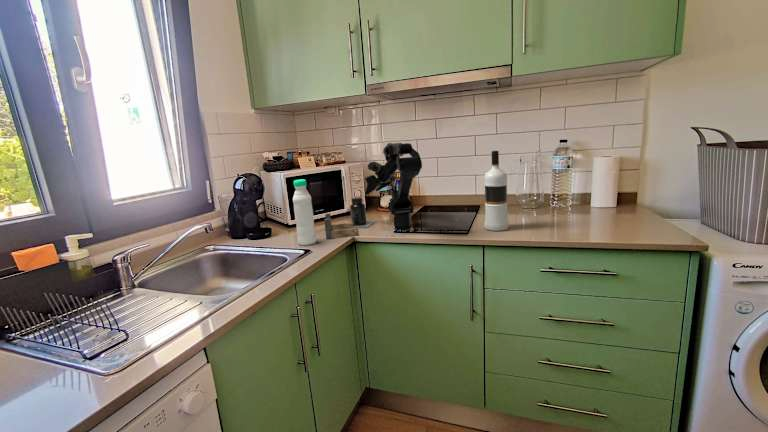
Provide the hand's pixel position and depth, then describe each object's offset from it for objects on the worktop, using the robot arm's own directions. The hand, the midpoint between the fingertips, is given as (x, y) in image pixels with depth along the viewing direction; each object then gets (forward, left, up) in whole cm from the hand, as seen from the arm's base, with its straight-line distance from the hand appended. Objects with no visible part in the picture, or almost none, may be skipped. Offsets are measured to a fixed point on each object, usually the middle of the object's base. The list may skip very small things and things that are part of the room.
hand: (371, 192), depth 173 cm
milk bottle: (+16, +36, -14) cm, 42 cm away
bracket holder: (+7, +22, -14) cm, 27 cm away
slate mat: (+5, +7, -14) cm, 16 cm away
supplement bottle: (+5, +7, -13) cm, 16 cm away
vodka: (-55, +15, -14) cm, 59 cm away
